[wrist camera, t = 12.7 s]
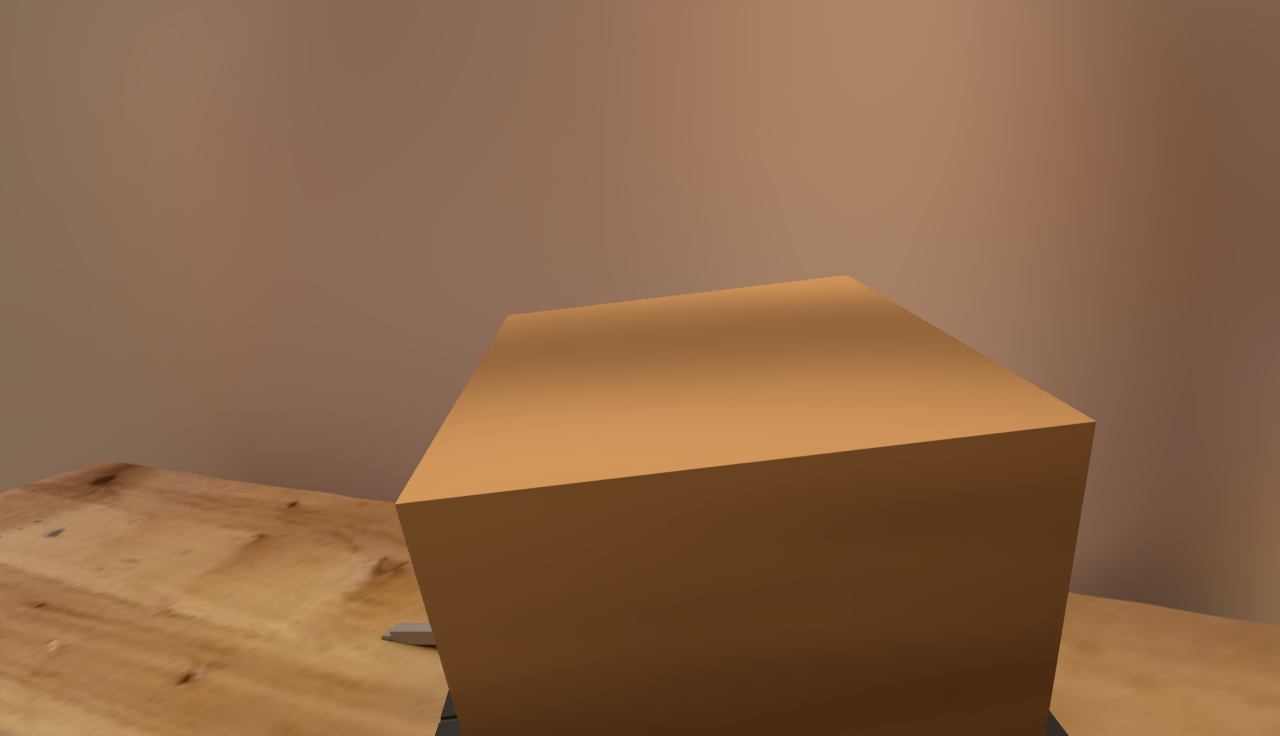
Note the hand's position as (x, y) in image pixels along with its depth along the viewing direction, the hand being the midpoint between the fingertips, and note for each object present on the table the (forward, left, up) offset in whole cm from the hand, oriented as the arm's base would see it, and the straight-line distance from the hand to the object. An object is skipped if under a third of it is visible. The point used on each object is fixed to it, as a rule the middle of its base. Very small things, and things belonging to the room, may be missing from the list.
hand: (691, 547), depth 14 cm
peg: (+5, +3, -9) cm, 11 cm away
